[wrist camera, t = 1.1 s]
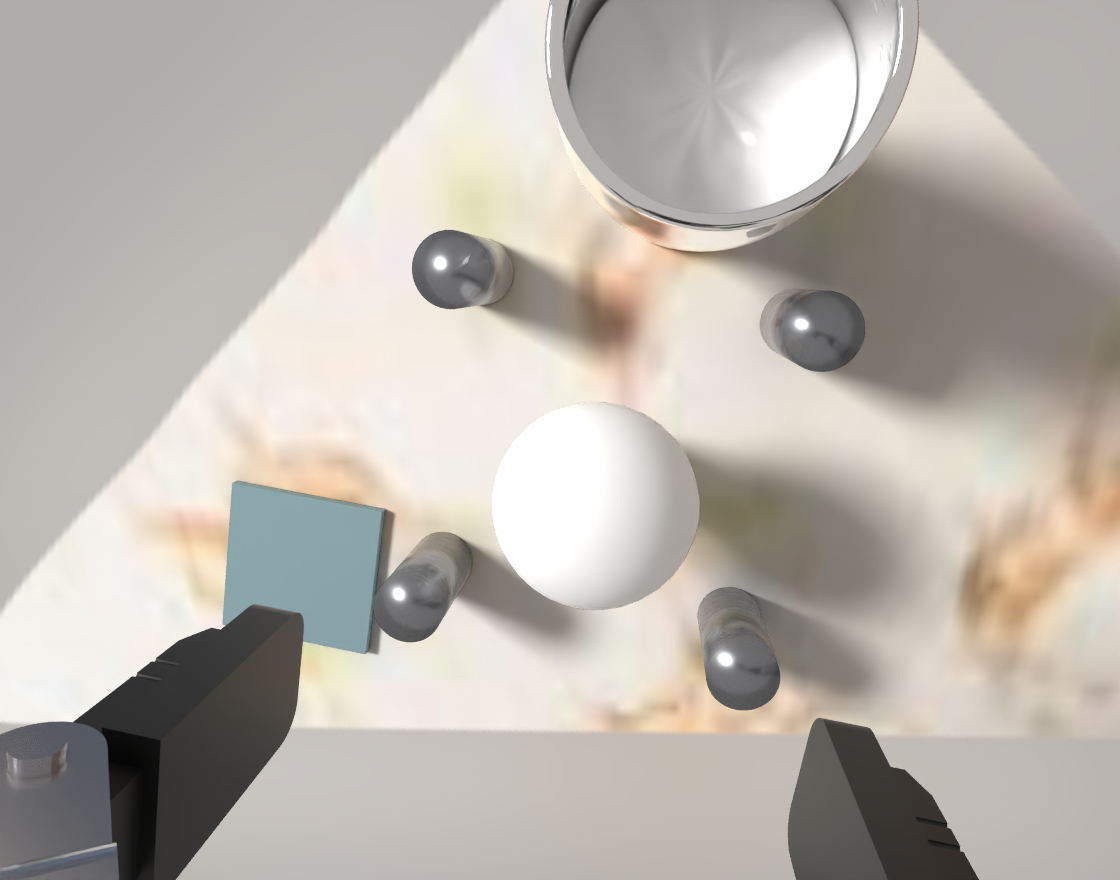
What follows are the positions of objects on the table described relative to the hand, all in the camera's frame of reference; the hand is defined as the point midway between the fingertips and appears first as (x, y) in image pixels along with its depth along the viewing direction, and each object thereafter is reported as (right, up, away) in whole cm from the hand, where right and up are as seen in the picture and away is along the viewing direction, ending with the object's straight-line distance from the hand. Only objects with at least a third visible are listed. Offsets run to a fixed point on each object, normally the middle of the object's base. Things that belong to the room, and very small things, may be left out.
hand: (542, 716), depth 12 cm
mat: (-11, -1, +21) cm, 24 cm away
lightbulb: (+2, +4, +19) cm, 20 cm away
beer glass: (+5, +14, +17) cm, 22 cm away
